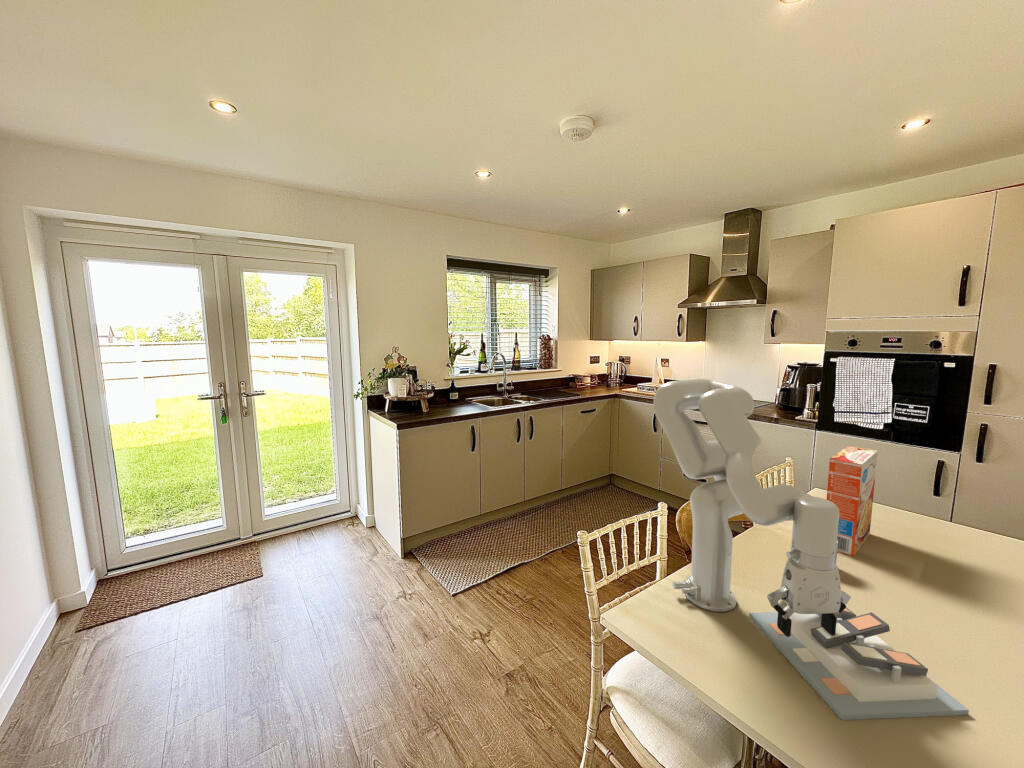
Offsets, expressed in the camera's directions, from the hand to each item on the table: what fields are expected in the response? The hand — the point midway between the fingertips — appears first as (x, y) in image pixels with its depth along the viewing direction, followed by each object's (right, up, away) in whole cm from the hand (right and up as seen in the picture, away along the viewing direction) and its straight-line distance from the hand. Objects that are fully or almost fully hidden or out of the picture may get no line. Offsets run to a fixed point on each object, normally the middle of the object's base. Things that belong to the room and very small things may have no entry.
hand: (805, 631), depth 89 cm
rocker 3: (+10, -1, -8) cm, 12 cm away
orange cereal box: (+51, 0, +52) cm, 73 cm away
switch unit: (+10, -6, +1) cm, 12 cm away
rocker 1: (+9, +1, +8) cm, 12 cm away
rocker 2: (+9, 0, 0) cm, 10 cm away
